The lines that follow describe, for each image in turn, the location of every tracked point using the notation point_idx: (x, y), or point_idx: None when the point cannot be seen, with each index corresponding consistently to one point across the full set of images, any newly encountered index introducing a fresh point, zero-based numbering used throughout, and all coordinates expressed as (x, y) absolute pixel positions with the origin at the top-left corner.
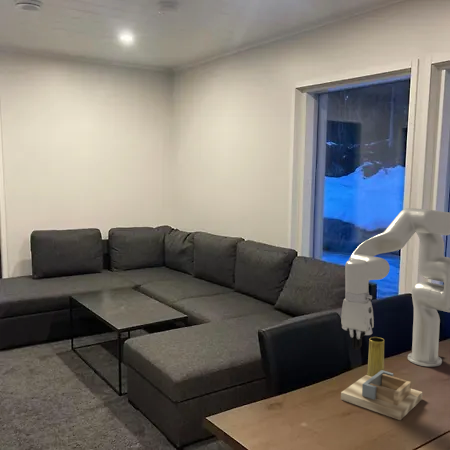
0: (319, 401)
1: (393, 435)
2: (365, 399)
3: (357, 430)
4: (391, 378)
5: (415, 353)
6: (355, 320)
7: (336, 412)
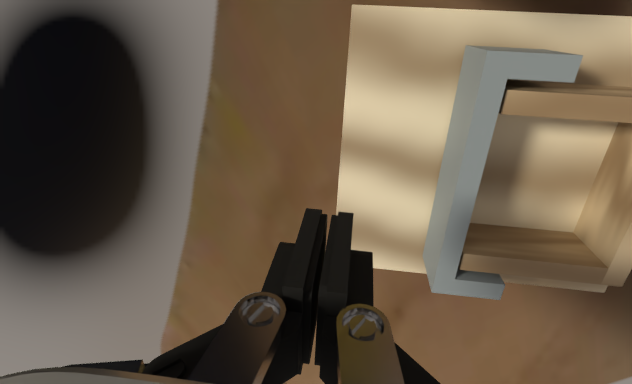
0: None
1: (568, 357)
2: None
3: (457, 376)
4: (567, 117)
5: None
6: None
7: None
